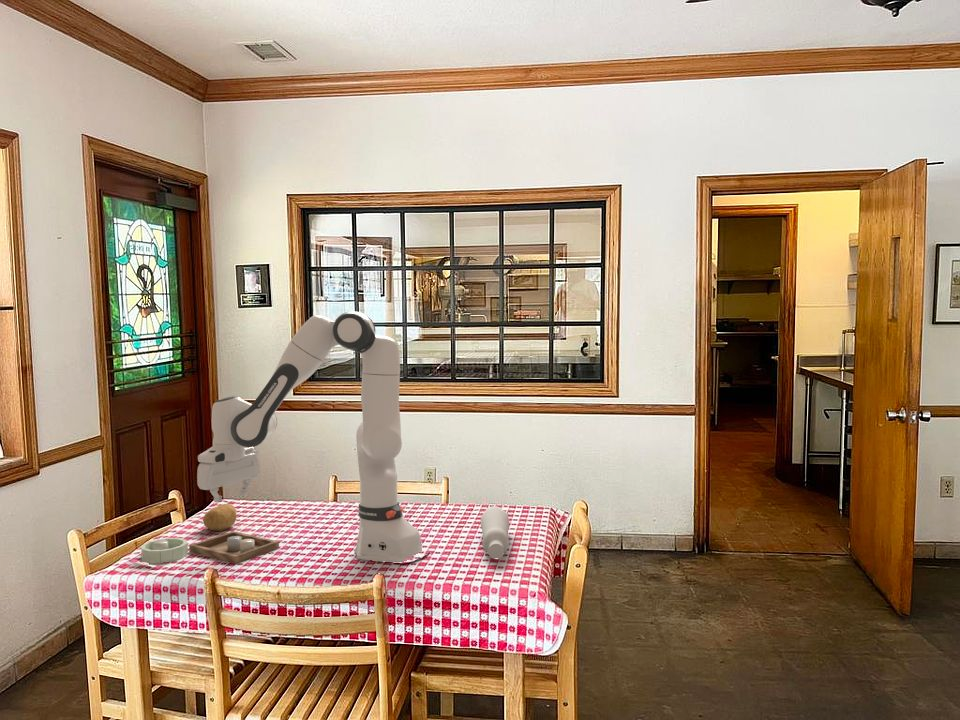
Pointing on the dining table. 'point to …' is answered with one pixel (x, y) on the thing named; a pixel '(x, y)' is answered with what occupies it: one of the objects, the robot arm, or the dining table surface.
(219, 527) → the potato
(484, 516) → the bottle
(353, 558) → the dining table surface
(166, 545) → the pebble
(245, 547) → the pebble
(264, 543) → the tray
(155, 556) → the bowl
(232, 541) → the pebble
